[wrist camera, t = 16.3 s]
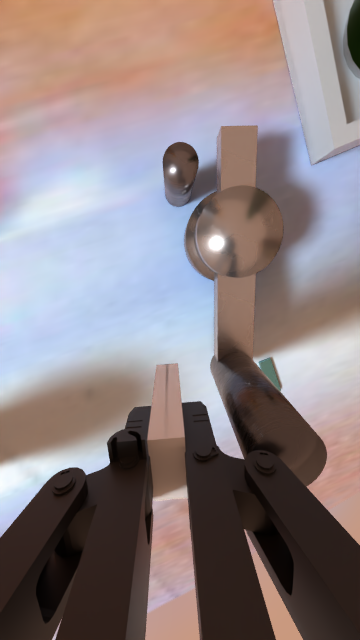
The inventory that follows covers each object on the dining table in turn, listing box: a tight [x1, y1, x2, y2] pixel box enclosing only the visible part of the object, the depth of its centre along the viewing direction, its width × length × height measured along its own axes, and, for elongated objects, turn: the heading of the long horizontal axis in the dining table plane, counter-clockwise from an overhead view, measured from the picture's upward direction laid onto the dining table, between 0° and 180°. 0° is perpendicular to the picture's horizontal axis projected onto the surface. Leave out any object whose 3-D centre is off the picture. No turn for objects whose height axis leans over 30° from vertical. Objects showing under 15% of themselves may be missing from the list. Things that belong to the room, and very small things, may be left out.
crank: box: [194, 126, 327, 486], centre depth 11 cm, size 16×5×9 cm, turn 2°
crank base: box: [163, 142, 281, 391], centre depth 16 cm, size 19×6×5 cm, turn 22°
